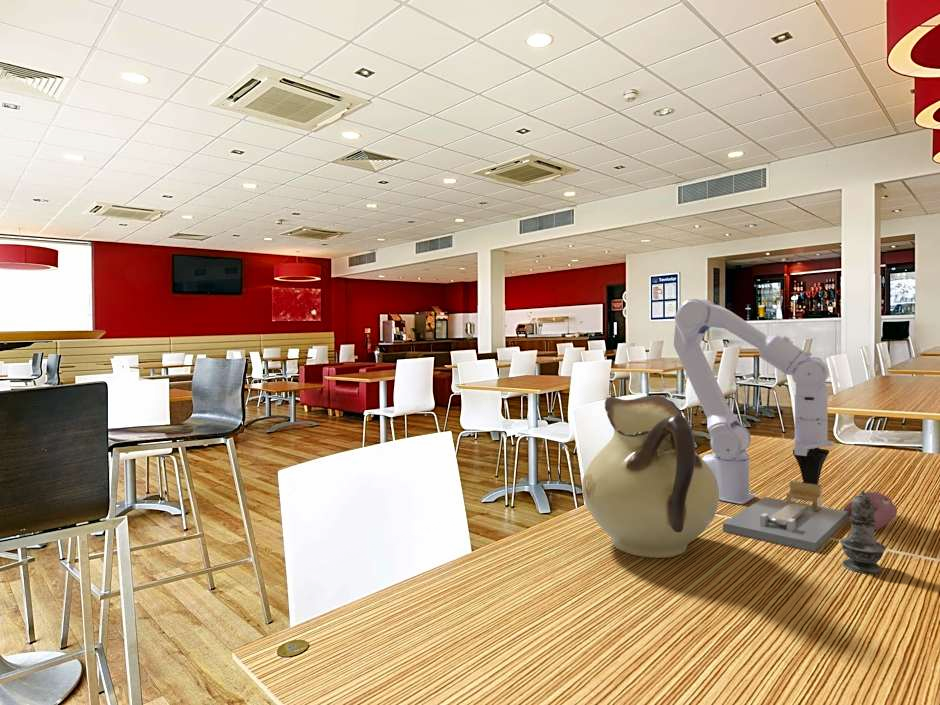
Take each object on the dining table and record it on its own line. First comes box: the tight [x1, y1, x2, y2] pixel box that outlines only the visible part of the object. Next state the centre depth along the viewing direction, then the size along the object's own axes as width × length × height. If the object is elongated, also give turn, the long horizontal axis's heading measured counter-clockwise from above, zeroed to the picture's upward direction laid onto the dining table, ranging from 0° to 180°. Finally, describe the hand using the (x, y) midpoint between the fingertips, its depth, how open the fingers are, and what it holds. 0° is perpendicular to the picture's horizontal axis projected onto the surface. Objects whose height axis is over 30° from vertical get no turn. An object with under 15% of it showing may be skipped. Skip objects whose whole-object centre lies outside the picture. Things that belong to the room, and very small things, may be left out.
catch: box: [786, 479, 823, 511], centre depth 116 cm, size 5×3×4 cm, turn 45°
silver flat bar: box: [768, 503, 807, 526], centre depth 109 cm, size 3×12×1 cm, turn 135°
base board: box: [722, 496, 849, 553], centre depth 110 cm, size 15×22×3 cm
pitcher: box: [581, 395, 720, 559], centre depth 101 cm, size 22×24×25 cm
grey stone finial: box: [839, 489, 886, 575], centre depth 91 cm, size 6×6×12 cm
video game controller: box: [843, 490, 898, 531], centre depth 110 cm, size 10×5×7 cm, turn 168°
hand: (810, 485), depth 119 cm, fingers closed
